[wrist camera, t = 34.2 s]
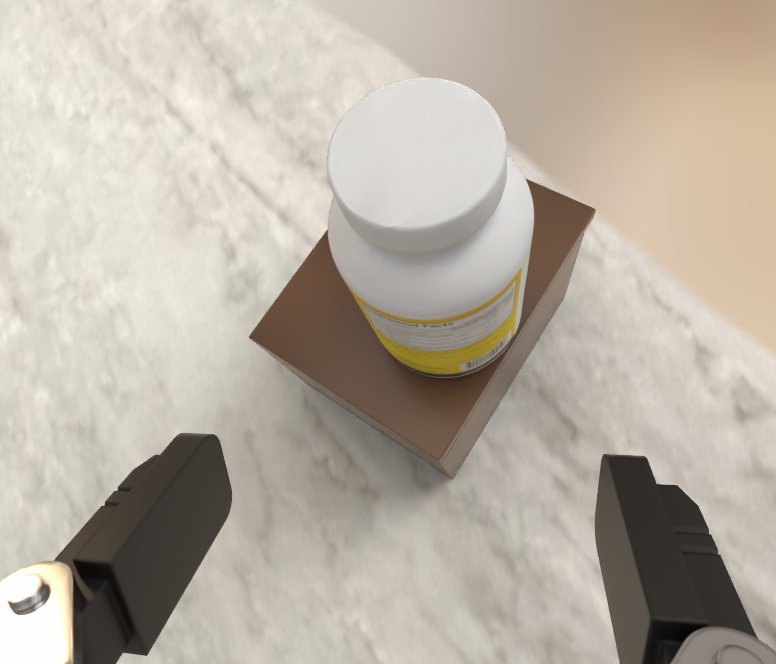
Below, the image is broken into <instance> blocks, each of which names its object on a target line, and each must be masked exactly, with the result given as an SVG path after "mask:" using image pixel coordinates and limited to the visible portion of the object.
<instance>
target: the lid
mask: <svg viewBox="0 0 776 664" xmlns="http://www.w3.org/2000/svg"><path fill="white" fill-rule="evenodd" d="M526 181H527V184H528V186H529V189H530V192H531V196H532V200H533V207H534V227H533V236H532V242H531V249H530V256H529V264H528V270H527V277H526V283H525V289H524V296H523V304H522V313H521V318H520V322H519V326H518V329H517V331H516V333H515V336H514V337H513V339H512V341H511V343H510V344H509V346H508V347H507V348H506V350H505V351H504V352H503V353H502V354H501V355H500V356H499V357H498V358H497V359H496V360H494V361H493V362H492V363H490V364H489V365H487V366H486V367H484V368H482V369H480V370H478V371H476V372H474V373H471V374H468V375H464V376H459V377H453V378H438V377H431V376H427V375H423V374H420V373H417V372H415V371H412V370H410V369H409V368H407V367H405V366H404V365H402V364H401V363H399V362H398V361H397V360H396V359H395V358H394V357H393V356H392V355H391V354H390V353H389V352H388V351H387V350H386V349H385V347H384V346H383V344H382V343H381V341H380V340H379V338H378V336H377V334H376V333H375V331H374V329H373V328H372V326H371V324H370V323H369V321H368V320H367V318H366V316H365V315H364V313H363V311H362V310H361V308H360V306H359V305H358V303H357V301H356V299H355V298H354V296H353V294H352V293H351V291H350V290H349V288H348V286H347V285H346V283H345V281H344V279H343V278H342V276H341V274H340V272H339V270H338V268H337V266H336V264H335V262H334V259H333V257H332V253H331V250H330V245H329V240H328V229H327V231H326V232H325V234H324V235H323V236H322V238H321V239H320V240H319V242H318V243H317V244H316V246H315V247H314V249H313V250H312V251H311V253H310V254H309V255H308V257H307V258H306V259H305V261H304V262H303V264H302V265H301V266H300V268H299V269H298V270H297V272H296V273H295V274H294V276H293V277H292V279H291V280H290V281H289V283H288V284H287V285H286V287H285V288H284V290H283V291H282V292H281V294H280V295H279V296H278V298H277V299H276V300H275V302H274V303H273V305H272V306H271V307H270V309H269V310H268V311H267V313H266V314H265V315H264V317H263V318H262V320H261V321H260V322H259V324H258V325H257V326H256V328H255V329H254V330H253V332H252V333H251V335H250V336H249V338H250V339H251V340H253V341H254V342H255V343H257V344H258V345H260V346H261V347H263V348H264V349H266V350H267V351H269V352H270V353H272V354H273V355H275V356H276V357H278V358H280V359H281V360H283V361H284V362H286V363H287V364H289V365H290V366H292V367H293V368H295V369H296V370H298V371H299V372H301V373H303V374H304V375H306V376H307V377H309V378H310V379H312V380H313V381H315V382H316V383H318V384H319V385H321V386H322V387H324V388H326V389H327V390H329V391H330V392H332V393H333V394H335V395H336V396H338V397H339V398H341V399H342V400H344V401H345V402H347V403H349V404H350V405H352V406H353V407H355V408H356V409H358V410H359V411H361V412H362V413H364V414H365V415H367V416H368V417H370V418H372V419H373V420H375V421H376V422H378V423H379V424H381V425H382V426H384V427H385V428H387V429H388V430H390V431H391V432H393V433H395V434H396V435H398V436H399V437H401V438H402V439H404V440H405V441H407V442H408V443H410V444H411V445H413V446H414V447H416V448H418V449H419V450H421V451H422V452H424V453H425V454H427V455H428V456H430V457H431V458H433V459H434V460H436V461H437V462H439V463H441V462H442V461H443V459H444V458H445V456H446V455H447V453H448V451H449V450H450V448H451V447H452V445H453V443H454V442H455V440H456V438H457V437H458V435H459V434H460V432H461V430H462V429H463V427H464V426H465V424H466V422H467V421H468V419H469V418H470V416H471V414H472V413H473V411H474V409H475V408H476V406H477V405H478V403H479V401H480V400H481V398H482V397H483V395H484V393H485V392H486V390H487V389H488V387H489V385H490V384H491V382H492V380H493V379H494V377H495V376H496V374H497V372H498V371H499V369H500V368H501V366H502V364H503V363H504V361H505V359H506V358H507V356H508V355H509V353H510V351H511V350H512V348H513V347H514V345H515V343H516V342H517V340H518V339H519V337H520V335H521V334H522V332H523V330H524V329H525V327H526V326H527V324H528V322H529V321H530V319H531V318H532V316H533V314H534V313H535V311H536V310H537V308H538V306H539V305H540V303H541V301H542V300H543V298H544V297H545V295H546V293H547V292H548V290H549V289H550V287H551V285H552V284H553V282H554V280H555V279H556V277H557V276H558V274H559V272H560V271H561V269H562V268H563V266H564V264H565V263H566V261H567V260H568V258H569V256H570V255H571V253H572V251H573V250H574V248H575V247H576V245H577V243H578V242H579V240H580V239H581V237H582V235H583V234H584V232H585V231H586V229H587V227H588V226H589V224H590V222H591V221H592V219H593V217H594V214H595V209H594V208H592V207H589V206H587V205H585V204H583V203H580V202H578V201H576V200H573V199H571V198H569V197H567V196H564V195H562V194H560V193H557V192H555V191H553V190H551V189H548V188H546V187H544V186H541V185H539V184H537V183H534V182H532V181H530V180H528V179H526Z"/></svg>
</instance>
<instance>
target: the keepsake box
mask: <svg viewBox="0 0 776 664" xmlns="http://www.w3.org/2000/svg"><path fill="white" fill-rule="evenodd" d="M583 236H584V234H583V235H582V237H581V239H580V240H579V242H578V243H577V245H576V247H575V248H574V250H573V251H572V253H571V255H570V256H569V258H568V260H567V261H566V263H565V264H564V266H563V268H562V269H561V271H560V272H559V274H558V276H557V277H556V279H555V280H554V282H553V284H552V285H551V287H550V289H549V290H548V292H547V293H546V295H545V297H544V298H543V300H542V301H541V303H540V305H539V306H538V308H537V310H536V311H535V313H534V314H533V316H532V318H531V319H530V321H529V322H528V324H527V326H526V327H525V329H524V330H523V332H522V334H521V335H520V337H519V339H518V340H517V342H516V343H515V345H514V347H513V348H512V350H511V351H510V353H509V355H508V356H507V358H506V359H505V361H504V363H503V364H502V366H501V368H500V369H499V371H498V372H497V374H496V376H495V377H494V379H493V380H492V382H491V384H490V385H489V387H488V389H487V390H486V392H485V393H484V395H483V397H482V398H481V400H480V401H479V403H478V405H477V406H476V408H475V409H474V411H473V413H472V414H471V416H470V418H469V419H468V421H467V422H466V424H465V426H464V427H463V429H462V430H461V432H460V434H459V435H458V437H457V438H456V440H455V442H454V443H453V445H452V447H451V448H450V450H449V451H448V453H447V455H446V456H445V458H444V459H443V461H442V462H441V463H439V462H437V461H436V460H434V459H433V458H431V457H430V456H428V455H427V454H425V453H424V452H422V451H421V450H419V449H418V448H416V447H414V446H413V445H411V444H410V443H408V442H407V441H405V440H404V439H402V438H401V437H399V436H398V435H396V434H395V433H393V432H391V431H390V430H388V429H387V428H385V427H384V426H382V425H381V424H379V423H378V422H376V421H375V420H373V419H372V418H370V417H368V416H367V415H365V414H364V413H362V412H361V411H359V410H358V409H356V408H355V407H353V406H352V405H350V404H349V403H347V402H345V401H344V400H342V399H341V398H339V397H338V396H336V395H335V394H333V393H332V392H330V391H329V390H327V389H326V388H324V387H322V386H321V385H319V384H318V383H316V382H315V381H313V380H312V379H310V378H309V377H307V376H306V375H304V374H303V373H301V372H299V371H298V370H296V369H295V368H293V367H292V366H290V365H289V364H287V363H286V362H284V361H283V360H281V359H280V358H278V357H276V356H275V355H273V354H272V353H270V352H269V351H267V350H266V349H264V348H263V347H261V346H260V345H259V346H260V347H261V348H263V349H264V350H265V351H266V352H268V353H269V354H270V355H271V356H273V357H274V358H275V359H276V360H278V361H279V362H280V363H281V364H283V365H284V366H285V367H286V368H288V369H289V370H290V371H291V372H293V373H294V374H295V375H297V376H298V377H299V378H300V379H302V380H303V381H304V382H305V383H307V384H308V385H310V386H311V387H313V388H314V389H316V390H318V391H319V392H321V393H322V394H324V395H325V396H327V397H328V398H330V399H331V400H333V401H334V402H336V403H337V404H339V405H340V406H342V407H343V408H345V409H346V410H348V411H349V412H351V413H353V414H354V415H356V416H357V417H359V418H360V419H362V420H363V421H365V422H366V423H368V424H369V425H371V426H372V427H374V428H375V429H377V430H378V431H380V432H381V433H383V434H384V435H386V436H387V437H389V438H391V439H392V440H394V441H395V442H397V443H398V444H400V445H401V446H403V447H404V448H406V449H407V450H409V451H410V452H412V453H413V454H415V455H416V456H418V457H419V458H421V459H422V460H424V461H425V462H427V463H429V464H430V465H432V466H433V467H435V468H436V469H438V470H439V471H441V472H442V473H444V474H445V475H447V476H448V477H450V478H451V479H453V478H454V477H455V475H456V473H457V472H458V470H459V469H460V467H461V465H462V464H463V462H464V460H465V459H466V457H467V455H468V454H469V452H470V451H471V449H472V447H473V446H474V444H475V442H476V441H477V439H478V437H479V436H480V434H481V433H482V431H483V429H484V428H485V426H486V424H487V423H488V421H489V419H490V418H491V416H492V415H493V413H494V411H495V410H496V408H497V406H498V405H499V403H500V401H501V400H502V398H503V397H504V395H505V393H506V392H507V390H508V388H509V387H510V385H511V383H512V382H513V380H514V379H515V377H516V375H517V374H518V372H519V370H520V369H521V367H522V365H523V364H524V362H525V361H526V359H527V357H528V356H529V354H530V352H531V351H532V349H533V347H534V346H535V344H536V343H537V341H538V339H539V338H540V336H541V334H542V333H543V331H544V329H545V328H546V326H547V325H548V323H549V321H550V320H551V318H552V316H553V315H554V313H555V311H556V310H557V308H558V307H559V305H560V303H561V302H562V300H563V298H564V297H565V294H566V290H567V287H568V284H569V281H570V277H571V274H572V271H573V268H574V265H575V261H576V258H577V255H578V252H579V249H580V245H581V242H582V239H583ZM256 344H257V343H256Z"/></svg>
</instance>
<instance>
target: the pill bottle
mask: <svg viewBox="0 0 776 664" xmlns="http://www.w3.org/2000/svg"><path fill="white" fill-rule="evenodd" d="M327 174H328V179H329V183H330V187H331V189H332V192H333V194H334V196H333V199H332V203H331V206H330V210H329V218H328V240H329V245H330V250H331V253H332V257H333V259H334V262H335V264H336V266H337V268H338V270H339V272H340V274H341V276H342V278H343V279H344V281H345V283H346V285H347V286H348V288H349V290H350V291H351V293H352V294H353V296H354V298H355V299H356V301H357V303H358V305H359V306H360V308H361V310H362V311H363V313H364V315H365V316H366V318H367V320H368V321H369V323H370V324H371V326H372V328H373V329H374V331H375V333H376V334H377V336H378V338H379V340H380V341H381V343H382V344H383V346H384V347H385V349H386V350H387V351H388V352H389V353H390V354H391V355H392V356H393V357H394V358H395V359H396V360H397V361H398V362H399V363H401V364H402V365H404V366H405V367H407V368H409V369H410V370H412V371H415V372H417V373H420V374H423V375H427V376H431V377H438V378H453V377H459V376H464V375H468V374H471V373H474V372H476V371H478V370H480V369H482V368H484V367H486V366H487V365H489V364H490V363H492V362H493V361H494V360H496V359H497V358H498V357H499V356H500V355H501V354H502V353H503V352H504V351H505V350H506V348H507V347H508V346H509V344H510V343H511V341H512V339H513V337H514V336H515V333H516V331H517V329H518V326H519V322H520V318H521V313H522V304H523V296H524V289H525V283H526V277H527V270H528V264H529V256H530V249H531V242H532V236H533V227H534V207H533V200H532V196H531V192H530V189H529V186H528V184H527V181H526V179H525V177H524V175H523V174H522V172H521V170H520V169H519V167H518V166H517V164H516V163H515V162H514V161H513V160H512V158H511V157H510V156H509V155H508V154H507V145H506V137H505V132H504V129H503V125H502V123H501V121H500V119H499V117H498V115H497V113H496V112H495V110H494V109H493V108H492V106H491V105H490V104H489V103H488V102H487V101H486V100H485V99H484V98H483V97H481V96H480V95H479V94H477V93H476V92H475V91H473V90H472V89H470V88H468V87H466V86H464V85H462V84H458V83H456V82H453V81H449V80H444V79H438V78H414V79H407V80H402V81H398V82H394V83H391V84H389V85H386V86H384V87H381V88H379V89H377V90H375V91H374V92H372V93H370V94H369V95H367V96H365V97H364V98H363V99H361V100H360V101H359V102H358V103H356V104H355V105H354V106H353V107H352V108H351V109H350V110H349V111H348V112H347V113H346V114H345V116H344V117H343V118H342V119H341V121H340V122H339V124H338V125H337V127H336V129H335V131H334V133H333V135H332V138H331V140H330V143H329V147H328V153H327Z"/></svg>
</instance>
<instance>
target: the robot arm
mask: <svg viewBox="0 0 776 664" xmlns="http://www.w3.org/2000/svg"><path fill="white" fill-rule="evenodd" d="M231 503H232V489H231V485H230V481H229V476H228V472H227V468H226V464H225V460H224V456H223V452H222V448H221V444H220V441H219V439H218V437H217V436H216V435H213V434H194V433H180V434H178V435H177V436H176V437H175V438H174V439H173V440H172V442H171V443H170V444H169V445H168V446H167V448H166V449H165V450H164V451H163V452H162V454H161V455H154V456H153V457H151V458H150V459H149V460H147V461H146V462H144V463H143V464H141V465H140V466H138V467H137V468H135V469H134V470H133V471H132V472H131V473H130V474H129V475H128V476H127V478H126V479H125V480H124V481H123V482H122V483H121V484H120V486H119V487H118V490H117V491H114V492H113V494H112V495H111V496H110V497H109V498H108V499H107V500H106V502H105V506H101V507H100V508H99V510H98V511H97V512H96V513H95V514H94V515H93V516H92V518H91V519H90V520H89V521H88V522H87V523H86V524H85V526H84V527H83V528H82V529H81V530H80V531H79V532H78V534H77V535H76V536H75V537H74V538H73V539H72V540H71V542H70V543H69V544H68V545H67V546H66V547H65V548H64V550H63V551H62V552H61V553H60V554H59V555H58V556H57V558H56V559H55V560H54V561H45V562H40V563H36V564H33V565H30V566H27V567H25V568H23V569H21V570H19V571H17V572H15V573H13V574H12V575H10V576H9V577H7V578H6V579H4V580H3V581H2V582H0V664H116V663H117V661H118V660H119V658H120V656H121V655H122V653H130V654H138V655H145V656H147V655H148V653H149V651H150V650H151V648H152V646H153V644H154V643H155V641H156V639H157V638H158V636H159V634H160V632H161V631H162V629H163V627H164V626H165V624H166V622H167V620H168V619H169V617H170V615H171V614H172V612H173V610H174V608H175V607H176V605H177V603H178V601H179V600H180V598H181V596H182V595H183V593H184V591H185V589H186V588H187V586H188V584H189V583H190V581H191V579H192V577H193V576H194V574H195V572H196V571H197V569H198V567H199V565H200V564H201V562H202V560H203V559H204V557H205V555H206V553H207V552H208V550H209V548H210V547H211V545H212V543H213V541H214V540H215V538H216V536H217V535H218V533H219V531H220V529H221V528H222V526H223V524H224V523H225V521H226V519H227V517H228V515H229V512H230V508H231ZM595 537H596V546H597V552H598V557H599V562H600V567H601V572H602V576H603V581H604V586H605V591H606V596H607V601H608V606H609V611H610V616H611V621H612V626H613V631H614V636H615V641H616V646H617V651H618V656H619V661H620V664H776V652H775V651H774V650H773V649H772V648H770V647H769V646H768V645H766V644H765V643H763V642H762V641H760V640H759V639H758V638H757V636H756V634H755V632H754V630H753V628H752V626H751V623H750V621H749V619H748V617H747V614H746V612H745V610H744V608H743V605H742V603H741V601H740V599H739V596H738V594H737V592H736V590H735V587H734V585H733V583H732V581H731V578H730V576H729V574H728V572H727V569H726V567H725V565H724V563H723V560H722V558H721V556H720V555H718V549H717V547H716V545H715V542H714V540H713V538H712V536H711V535H710V534H709V529H708V527H707V524H706V522H705V520H704V518H703V515H702V513H701V511H700V509H699V506H698V505H697V504H696V503H695V502H694V501H693V500H692V499H691V498H690V497H688V496H687V495H686V494H685V493H684V492H683V491H682V490H681V489H680V488H679V487H678V486H677V485H661V484H656V481H655V478H654V476H653V473H652V470H651V468H650V465H649V462H648V460H647V458H646V457H645V456H632V455H611V454H604V455H603V457H602V460H601V468H600V477H599V486H598V494H597V503H596V512H595Z"/></svg>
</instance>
